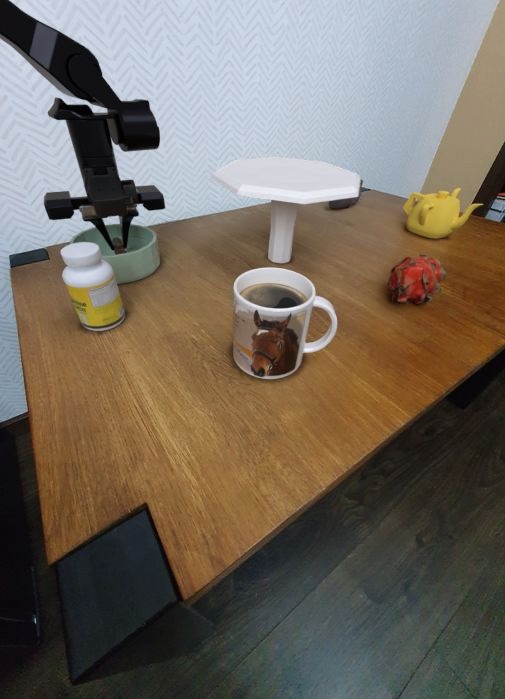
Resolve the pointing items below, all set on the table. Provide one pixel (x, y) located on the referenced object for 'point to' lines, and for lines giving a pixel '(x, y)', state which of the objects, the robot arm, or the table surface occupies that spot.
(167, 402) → the table surface
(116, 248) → the stick
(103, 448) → the table surface
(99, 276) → the pill bottle
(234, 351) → the mug
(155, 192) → the robot arm
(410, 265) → the dragon fruit
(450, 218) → the teapot
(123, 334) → the table surface
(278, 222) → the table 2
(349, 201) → the perforated stone tool
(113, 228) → the bowl
